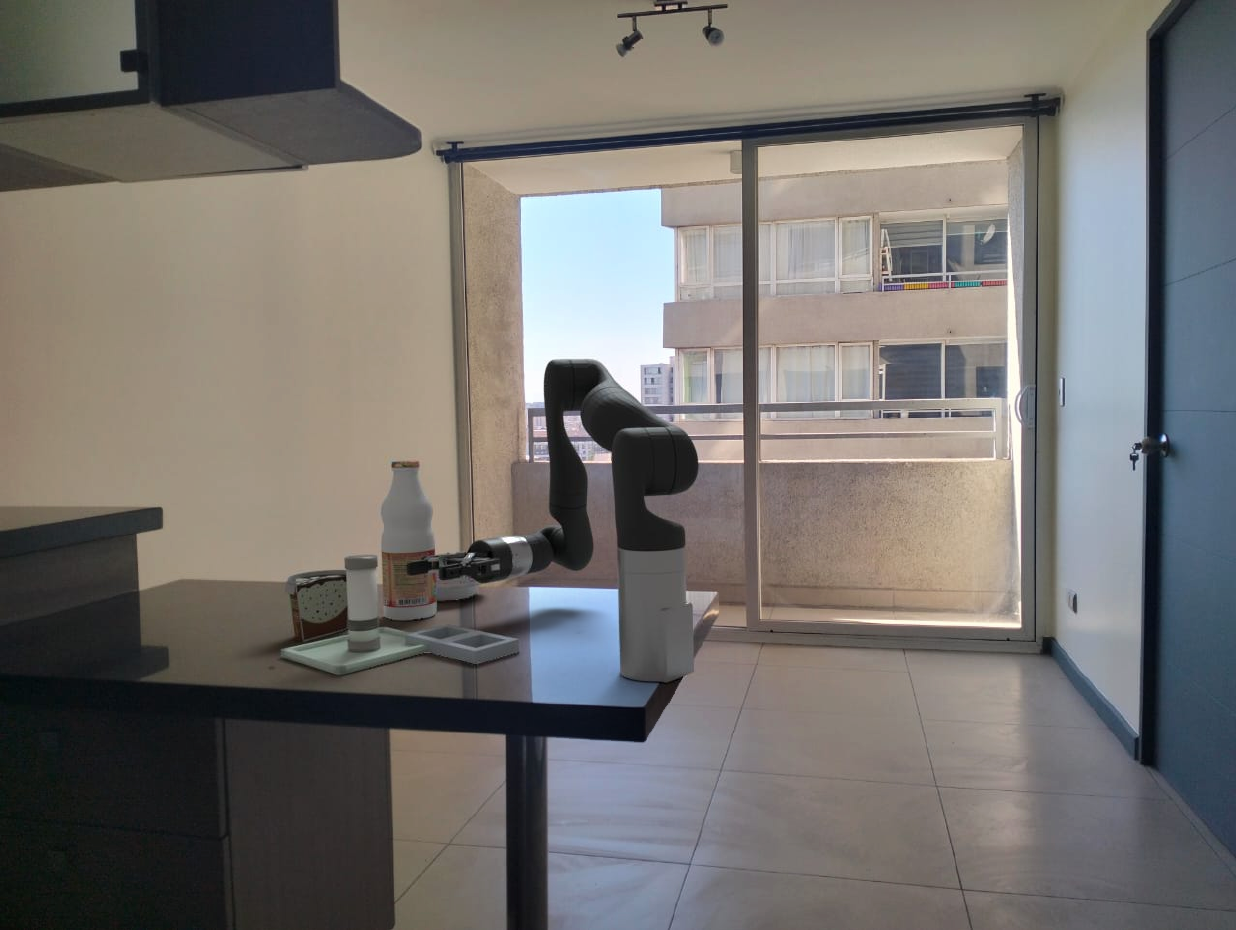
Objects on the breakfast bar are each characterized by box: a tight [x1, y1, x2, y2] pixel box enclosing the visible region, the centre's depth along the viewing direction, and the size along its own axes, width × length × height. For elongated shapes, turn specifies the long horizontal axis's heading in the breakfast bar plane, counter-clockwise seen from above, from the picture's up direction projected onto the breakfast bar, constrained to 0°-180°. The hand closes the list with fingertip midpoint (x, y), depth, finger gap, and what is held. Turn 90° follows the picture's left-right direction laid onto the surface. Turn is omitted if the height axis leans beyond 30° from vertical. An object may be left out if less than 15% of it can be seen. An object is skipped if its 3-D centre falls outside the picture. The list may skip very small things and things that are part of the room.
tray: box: [280, 626, 427, 676], centre depth 133 cm, size 16×18×1 cm
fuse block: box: [405, 623, 520, 664], centre depth 134 cm, size 17×8×2 cm, turn 49°
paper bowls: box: [436, 554, 483, 602], centre depth 175 cm, size 15×15×8 cm
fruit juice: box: [380, 460, 438, 621], centre depth 158 cm, size 9×9×28 cm
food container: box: [284, 569, 348, 643], centre depth 146 cm, size 12×6×10 cm, turn 149°
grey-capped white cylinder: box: [343, 554, 381, 653], centre depth 133 cm, size 5×5×14 cm
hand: (423, 571), depth 141 cm, fingers open, 8 cm apart
